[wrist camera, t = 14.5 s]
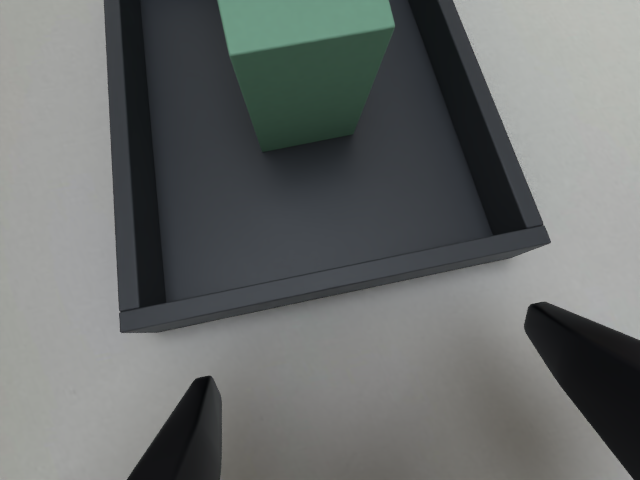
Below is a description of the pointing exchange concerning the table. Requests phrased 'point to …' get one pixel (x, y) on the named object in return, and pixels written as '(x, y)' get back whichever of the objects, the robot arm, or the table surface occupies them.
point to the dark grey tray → (298, 172)
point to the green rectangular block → (305, 64)
